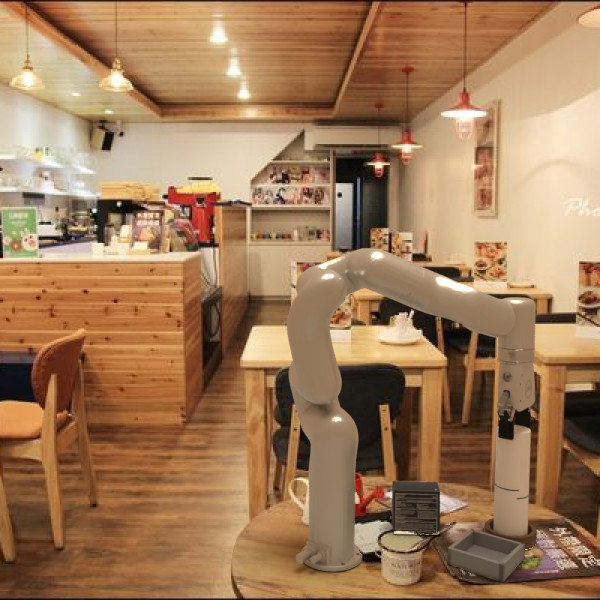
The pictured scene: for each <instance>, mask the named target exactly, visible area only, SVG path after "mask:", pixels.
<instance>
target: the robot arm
mask: <svg viewBox="0 0 600 600" xmlns="http://www.w3.org/2000/svg"><path fill="white" fill-rule="evenodd" d="M363 289H367V290H369V291H370V292H374V293H376V294H378V295H380V296H383V297H385V298H387V299H391V300H393V301H396V302H398V303H400V304H403V305H404V306H407V307H410V308H411V309H414V310H417V311H420V312H423V313H425V314H428V315H433V316H436V317H441V318H444V319H446V320H451V321H452V322H456V323H458V324H462V325H463V326H464V328H466V329H468V330H469V331H471V332H474V333H477V334H481V335H485V336H488V337H491V338H497V362H498V363H499V372H498V383H497V403H496V407H497V412H496V413H497V420H498V425H497V426H498V437H499V438H502V439H507V440H513V439H514V425H519V426H524V427H527V428H529V429H530V430H531V425H532V423H531V422H532V420H531V419H532V418H531V417H532V416H531V415H532V406H533V404H535V402H536V386H535V383H536V381H535V380H536V379H535V368H534V364H535V353H536V351H535V350H536V349H535V347H536V345H535V344H536V303H535V301H534V300H533V299H532V298H528V297H521V296H519V297H517V296H515V297H513V296H512V297H505V298H498V297H495V296H492V295H490V294H487V293H486V292H483V291H481V290H479V289H475V288H474V287H471V286H468V285H466V284H464V283H461V282H458V281H456V280H454V279H452V278H449V277H447V276H445V275H442V274H439V273H437V272H435V271H432V270H430V269H428V268H425V267H422V266H421V265H418V264H416V263H414V262H411V261H410V260H408V259H405V258H402V257H400V256H398V255H395V254H393V253H391V252H389V251H386V250H384V249H381V248H372V247H371V248H368V247H366V248H365V247H364V248H362V247H361V248H359V249H357V250H356V249H355V250H352V251H350V252H348V253H345V254H343V255H341V256H338V257H336V258H335V257H334V258H332V259H329V260H328V261H325V262H322V263H319V264H317V265H314V266H311V267H309V268H307V269H305V270H304V271H303V272H301V274H300V275H299V276H298V278H297V280H296V284H295V291H296V296H295V297H294V299H293V301H292V303H291V304H290V305H291V306H290V308H289V311H288V314H287V319H286V331H287V332H286V333H287V339H288V344H289V348H290V349H289V350H290V354H291V359H292V360H291V363H290V365H289V368H288V380H289V381H288V382H289V386H290V390H291V394H292V398H293V402H294V404H295V409H296V413H297V417H298V421H299V424H300V427H301V429H302V431H303V433H304V435H305V436H306V437H307V439H308V440H309V442H310V456H309V464H308V540H306V545H304V546H303V548H302V549H301V551H300V552H299V553H297V554H296V555H295V561H296V563H297V564H306V566H308V567H309V568H313V569H315V570H319V571H322V572H323V571H324V572H344V571H348V570H351V569H353V568H355V567H356V566H359V564H361V563H362V559H363V553H362V554H361V553H360V551H359V549H360V550H361V548H360V547H358V545H356V543H355V533H356V532H355V530H356V528H355V527H356V525H355V524H356V523H355V522H356V519H355V518H356V516H355V515H356V464H357V461H356V460H357V454H358V448H359V446H358V445H359V432H358V428H357V425H356V423H355V421H354V419H353V418H352V416H351V415H350V414H349V413H348V412H347V411H346V410H345V409H343V408H342V407H341V404H340V401H339V397H338V396H339V394H340V393H341V390H342V385H343V383H342V382H343V381H342V376H341V371H340V368H339V366H338V362H337V358H336V357H337V356H336V354H335V350H334V346H333V340H332V337H331V336H332V335H331V321H332V319H333V316H334V314H335V313H336V311H337V310H338V309H339V308H340V307H341V306H342V304H343V303H344V301H345V299H346V297H347V296H348V295H351V294H354V293H355V292H358V291H361V290H363ZM514 416H515V421H514V420H513V418H514Z"/></svg>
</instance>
